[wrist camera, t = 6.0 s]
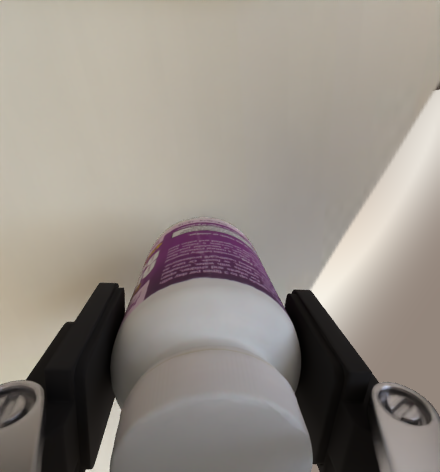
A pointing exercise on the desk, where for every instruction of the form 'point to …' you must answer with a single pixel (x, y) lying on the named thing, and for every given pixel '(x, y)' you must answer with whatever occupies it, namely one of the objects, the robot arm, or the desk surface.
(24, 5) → the desk surface
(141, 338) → the pill bottle
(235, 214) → the desk surface
